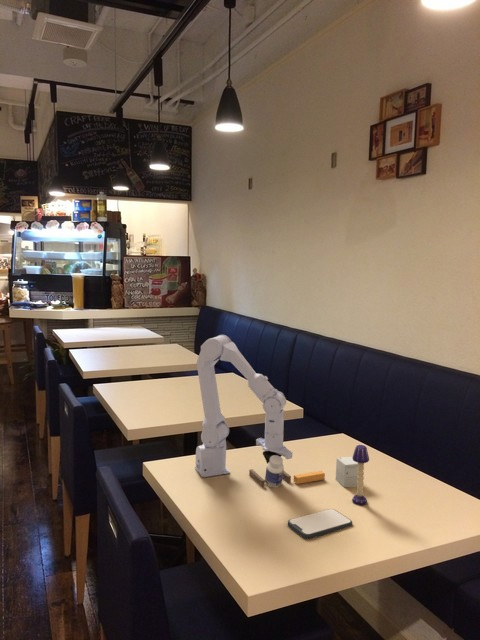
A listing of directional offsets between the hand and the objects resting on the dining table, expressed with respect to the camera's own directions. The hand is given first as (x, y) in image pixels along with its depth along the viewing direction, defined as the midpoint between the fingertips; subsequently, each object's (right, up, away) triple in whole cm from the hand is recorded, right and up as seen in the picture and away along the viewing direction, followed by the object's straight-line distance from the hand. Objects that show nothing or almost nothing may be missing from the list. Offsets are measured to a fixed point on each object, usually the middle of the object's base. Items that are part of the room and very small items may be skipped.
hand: (273, 473), depth 161 cm
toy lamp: (+24, -5, -13) cm, 27 cm away
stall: (-1, -2, +2) cm, 3 cm away
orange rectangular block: (+11, -3, 0) cm, 12 cm away
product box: (+24, -3, 0) cm, 24 cm away
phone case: (+11, -6, -26) cm, 29 cm away
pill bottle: (0, -2, -2) cm, 3 cm away
